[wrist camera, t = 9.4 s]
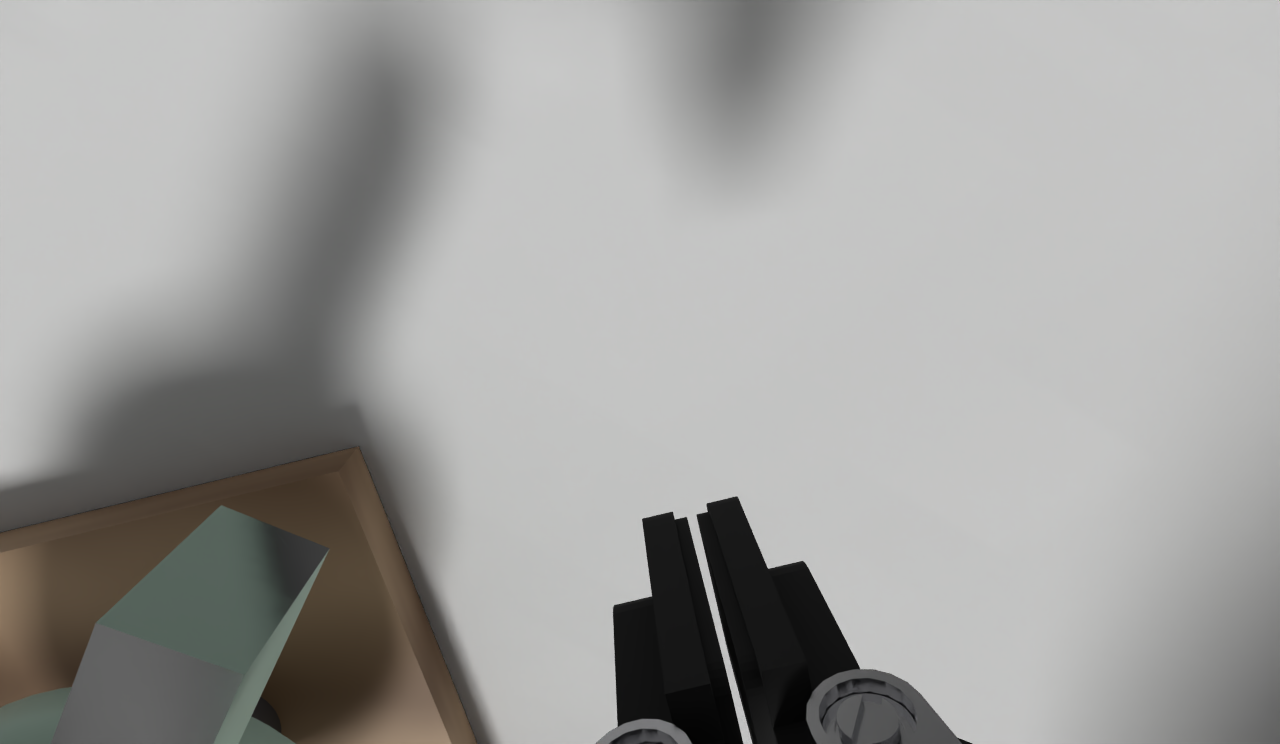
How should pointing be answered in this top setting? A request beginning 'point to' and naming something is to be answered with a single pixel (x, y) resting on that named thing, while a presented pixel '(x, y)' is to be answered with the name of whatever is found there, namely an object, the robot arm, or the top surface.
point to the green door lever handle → (184, 645)
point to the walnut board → (323, 632)
